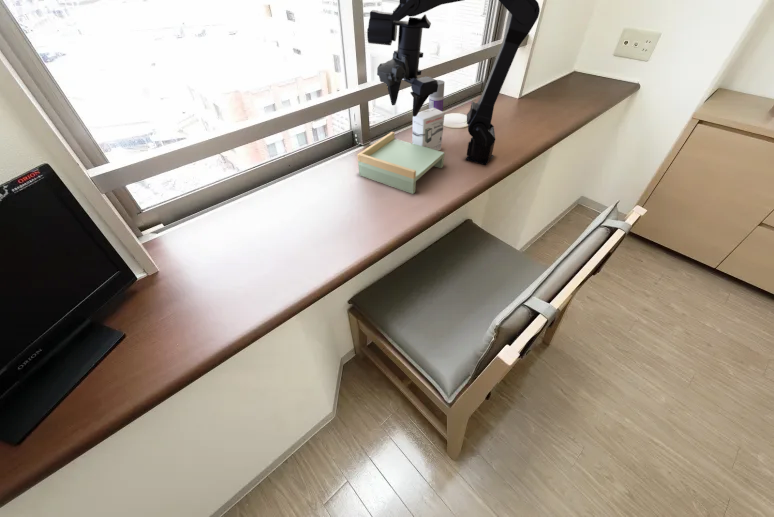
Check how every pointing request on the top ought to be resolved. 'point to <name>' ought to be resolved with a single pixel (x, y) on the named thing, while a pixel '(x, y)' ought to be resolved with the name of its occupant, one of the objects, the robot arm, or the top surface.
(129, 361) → the top surface
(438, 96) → the container
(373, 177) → the shelf
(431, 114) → the ink box
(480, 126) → the robot arm
